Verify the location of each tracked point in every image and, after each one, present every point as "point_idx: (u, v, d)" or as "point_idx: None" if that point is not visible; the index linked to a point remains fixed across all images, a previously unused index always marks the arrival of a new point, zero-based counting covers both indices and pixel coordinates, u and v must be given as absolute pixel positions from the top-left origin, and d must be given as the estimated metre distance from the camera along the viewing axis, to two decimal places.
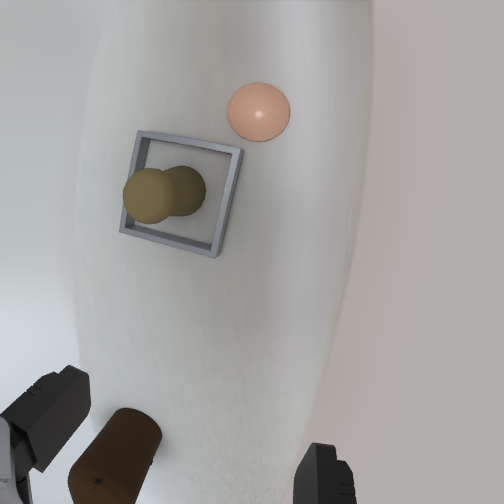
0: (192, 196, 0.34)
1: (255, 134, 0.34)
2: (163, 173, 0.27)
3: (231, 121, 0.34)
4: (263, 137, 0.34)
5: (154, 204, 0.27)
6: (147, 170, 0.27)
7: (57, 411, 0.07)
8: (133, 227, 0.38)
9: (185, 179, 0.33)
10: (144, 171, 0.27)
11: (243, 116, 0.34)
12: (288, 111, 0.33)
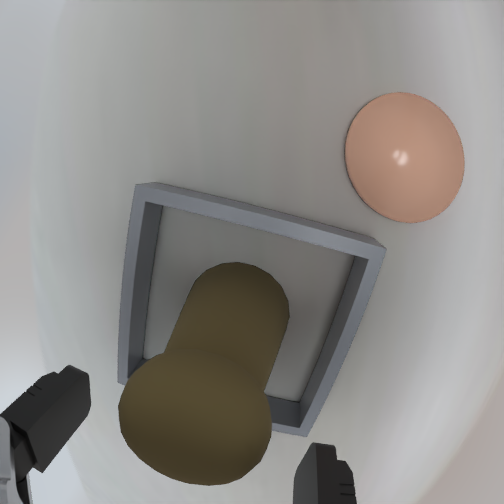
0: (276, 354, 0.15)
1: (402, 208, 0.15)
2: (237, 387, 0.09)
3: (355, 174, 0.15)
4: (417, 215, 0.15)
5: (220, 473, 0.08)
6: (186, 385, 0.08)
7: (57, 411, 0.07)
8: None
9: (266, 328, 0.14)
10: (176, 390, 0.08)
11: (381, 165, 0.15)
12: (462, 164, 0.14)
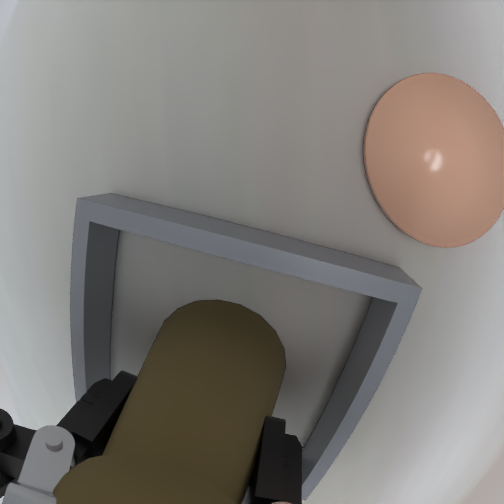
0: None
1: (439, 228, 0.11)
2: None
3: (378, 181, 0.11)
4: (457, 237, 0.11)
5: None
6: None
7: (116, 417, 0.08)
8: None
9: (252, 403, 0.09)
10: None
11: (413, 170, 0.11)
12: None
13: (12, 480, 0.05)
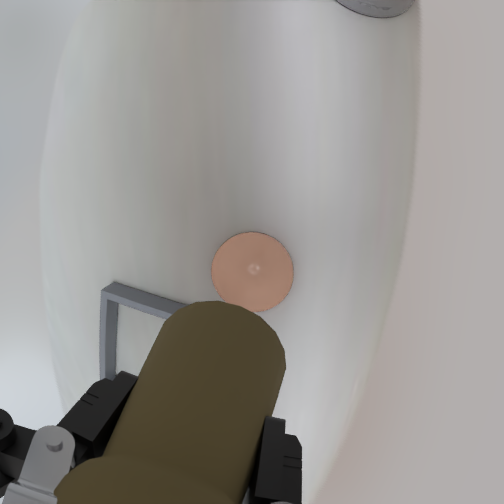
0: None
1: (247, 304, 0.28)
2: None
3: (217, 285, 0.28)
4: (258, 307, 0.28)
5: None
6: None
7: (116, 417, 0.08)
8: None
9: (252, 405, 0.09)
10: None
11: (232, 280, 0.28)
12: (291, 275, 0.27)
13: (12, 480, 0.05)
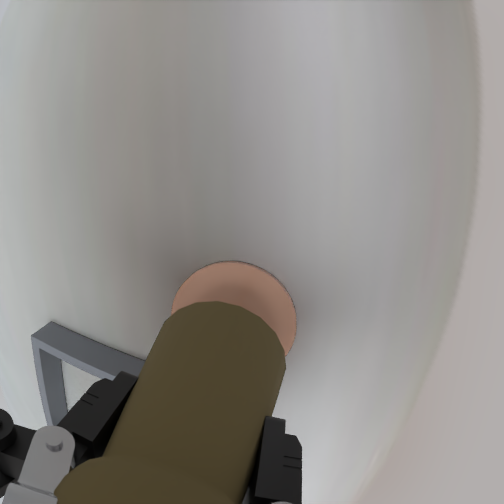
0: None
1: None
2: None
3: None
4: None
5: None
6: None
7: (116, 418, 0.08)
8: None
9: (251, 405, 0.09)
10: None
11: None
12: (294, 329, 0.17)
13: (12, 480, 0.05)
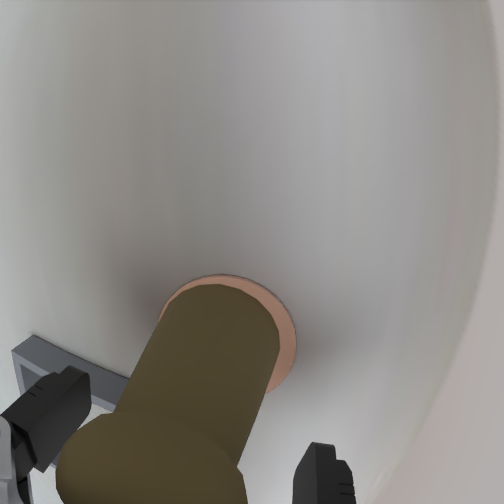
0: (261, 401, 0.12)
1: None
2: (198, 477, 0.05)
3: None
4: None
5: None
6: (126, 474, 0.05)
7: (58, 411, 0.07)
8: None
9: (248, 374, 0.10)
10: (114, 478, 0.05)
11: None
12: (293, 350, 0.15)
13: None
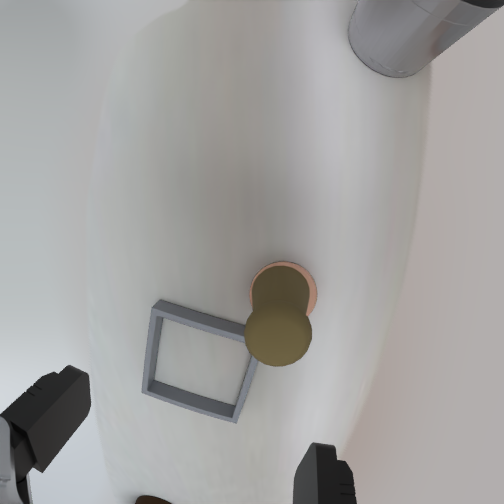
0: None
1: None
2: (301, 313, 0.23)
3: None
4: None
5: (292, 352, 0.23)
6: (284, 310, 0.23)
7: (57, 411, 0.07)
8: (154, 387, 0.37)
9: (303, 297, 0.28)
10: (280, 312, 0.23)
11: None
12: (315, 297, 0.33)
13: None
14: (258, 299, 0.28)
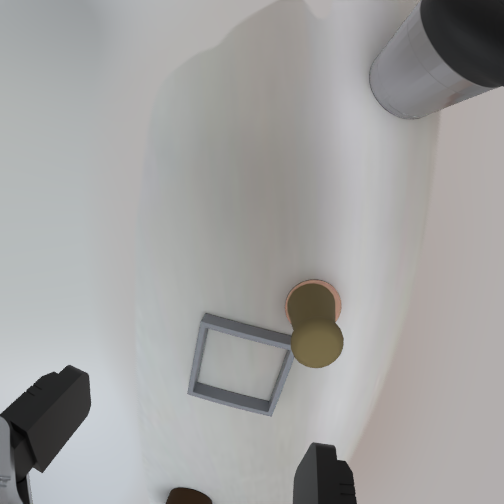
0: None
1: None
2: (336, 326, 0.29)
3: (288, 315, 0.40)
4: None
5: (329, 357, 0.29)
6: (323, 325, 0.29)
7: (57, 411, 0.07)
8: (198, 388, 0.43)
9: (333, 311, 0.34)
10: (321, 326, 0.28)
11: None
12: (340, 308, 0.39)
13: None
14: (298, 314, 0.34)
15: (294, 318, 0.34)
